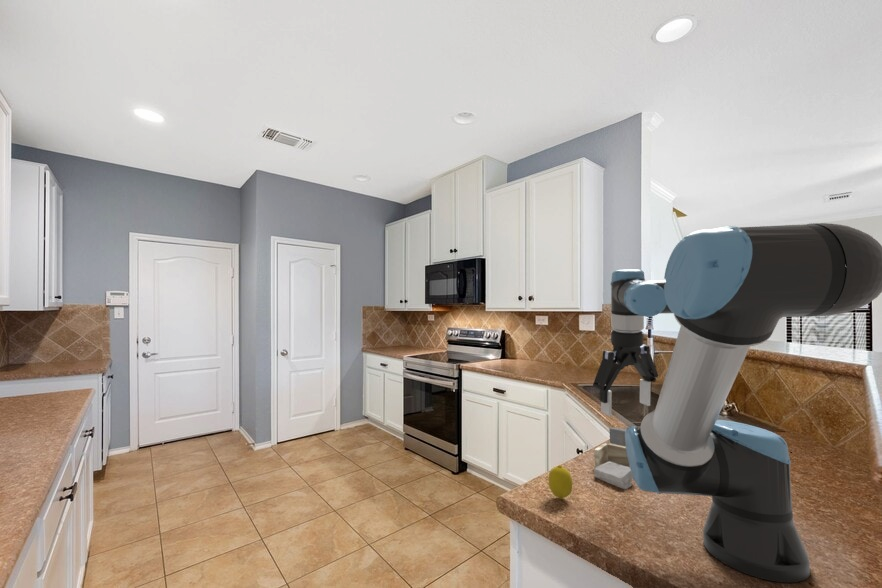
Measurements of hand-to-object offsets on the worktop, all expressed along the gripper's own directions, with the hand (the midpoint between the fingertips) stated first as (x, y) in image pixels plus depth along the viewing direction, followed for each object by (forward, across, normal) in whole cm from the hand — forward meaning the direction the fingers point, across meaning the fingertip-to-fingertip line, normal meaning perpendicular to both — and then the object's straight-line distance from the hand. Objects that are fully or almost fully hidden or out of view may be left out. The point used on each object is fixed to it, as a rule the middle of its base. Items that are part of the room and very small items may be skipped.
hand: (626, 409), depth 102 cm
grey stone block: (+20, +3, -1) cm, 20 cm away
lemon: (+18, +23, +2) cm, 29 cm away
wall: (+22, -15, -9) cm, 28 cm away
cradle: (+21, -4, -4) cm, 21 cm away
